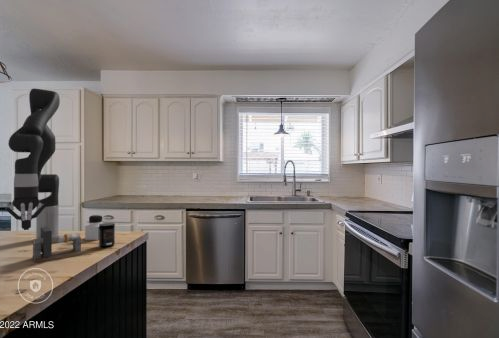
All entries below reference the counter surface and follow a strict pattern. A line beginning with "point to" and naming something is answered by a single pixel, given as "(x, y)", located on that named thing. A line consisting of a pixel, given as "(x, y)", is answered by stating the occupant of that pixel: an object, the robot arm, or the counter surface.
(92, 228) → the medicine bottle
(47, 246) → the collar
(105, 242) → the supplement container
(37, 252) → the pipe stand
